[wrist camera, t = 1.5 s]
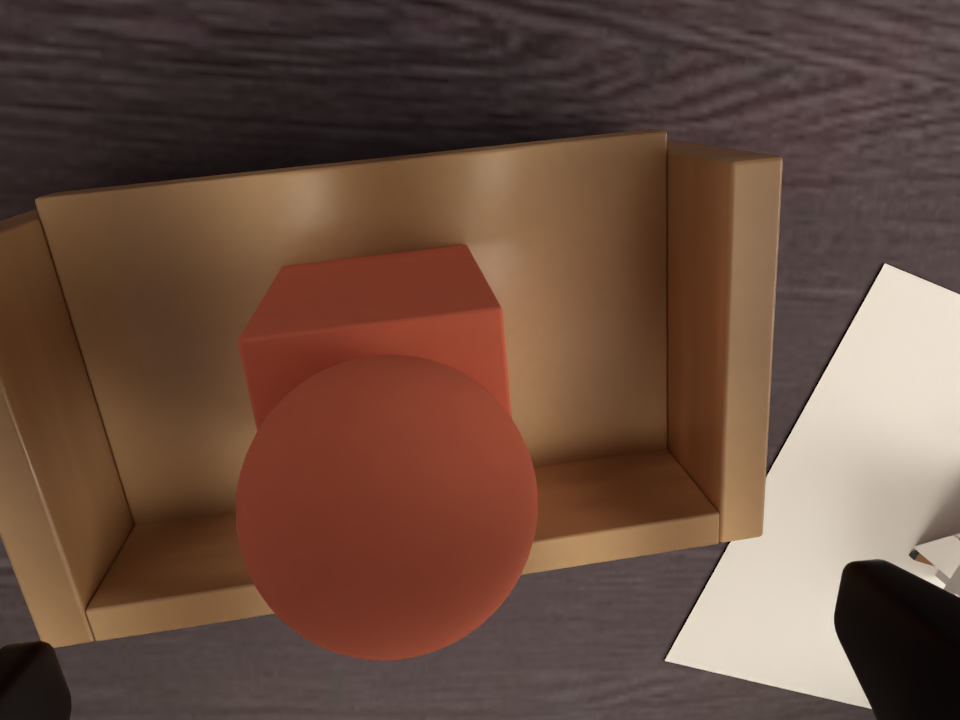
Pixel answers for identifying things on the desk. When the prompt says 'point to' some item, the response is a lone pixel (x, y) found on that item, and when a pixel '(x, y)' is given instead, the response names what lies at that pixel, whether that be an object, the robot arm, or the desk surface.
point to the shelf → (366, 232)
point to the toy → (383, 453)
